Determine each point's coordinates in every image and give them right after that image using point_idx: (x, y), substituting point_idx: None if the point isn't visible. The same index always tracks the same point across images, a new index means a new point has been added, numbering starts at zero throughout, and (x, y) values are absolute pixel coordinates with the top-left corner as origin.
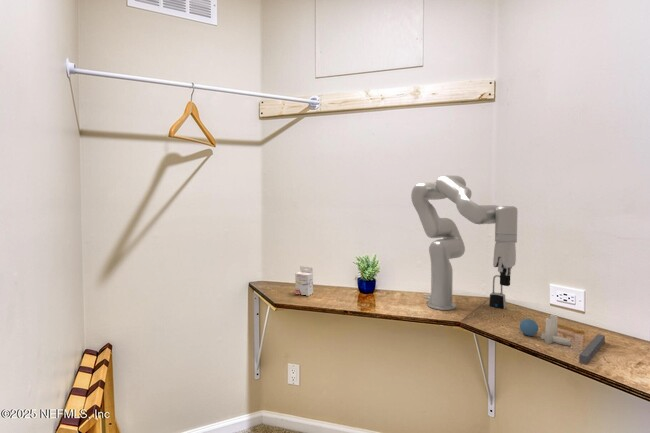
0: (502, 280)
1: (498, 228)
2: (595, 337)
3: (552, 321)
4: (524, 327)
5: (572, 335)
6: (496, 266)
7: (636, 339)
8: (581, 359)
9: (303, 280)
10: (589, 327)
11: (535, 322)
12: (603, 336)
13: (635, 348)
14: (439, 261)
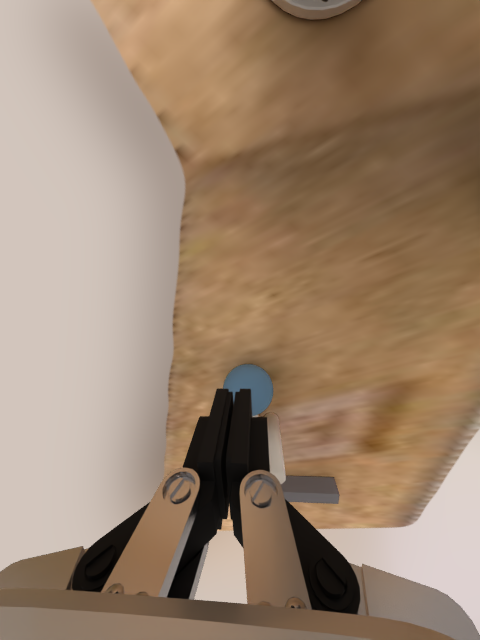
0: (194, 440)
1: None
2: (306, 494)
3: None
4: (223, 388)
5: (331, 440)
6: (77, 596)
7: (401, 519)
8: None
9: None
10: (431, 454)
11: (253, 415)
12: (327, 502)
13: (338, 520)
14: None
